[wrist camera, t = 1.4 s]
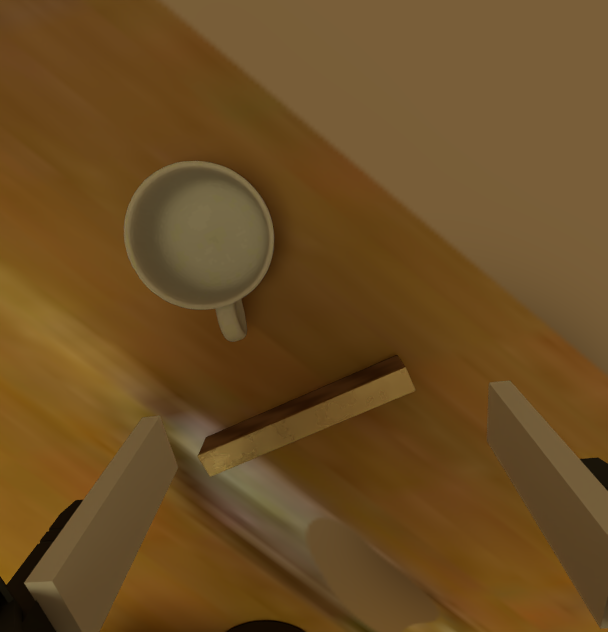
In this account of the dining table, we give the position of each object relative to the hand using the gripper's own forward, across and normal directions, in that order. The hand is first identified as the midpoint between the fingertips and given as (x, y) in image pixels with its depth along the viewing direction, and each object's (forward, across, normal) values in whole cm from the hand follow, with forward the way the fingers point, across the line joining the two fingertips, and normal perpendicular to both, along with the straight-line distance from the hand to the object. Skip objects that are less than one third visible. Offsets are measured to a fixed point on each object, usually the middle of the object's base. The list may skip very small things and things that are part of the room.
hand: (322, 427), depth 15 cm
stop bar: (+20, +4, +13) cm, 25 cm away
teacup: (+22, +9, -4) cm, 24 cm away
